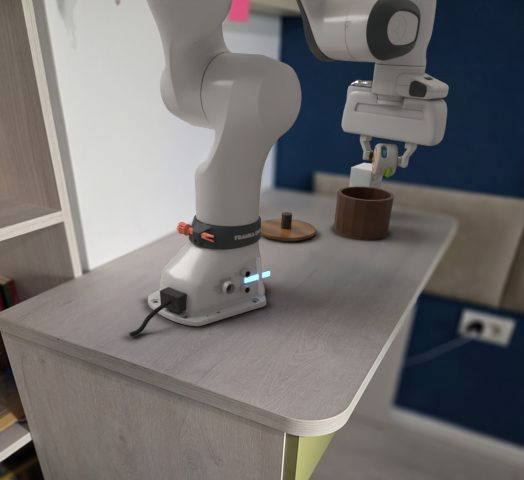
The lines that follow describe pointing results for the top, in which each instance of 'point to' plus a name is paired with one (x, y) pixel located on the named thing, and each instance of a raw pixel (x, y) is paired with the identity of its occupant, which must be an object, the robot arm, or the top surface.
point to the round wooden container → (363, 212)
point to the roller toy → (384, 159)
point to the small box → (364, 176)
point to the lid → (287, 228)
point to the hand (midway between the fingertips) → (384, 163)
